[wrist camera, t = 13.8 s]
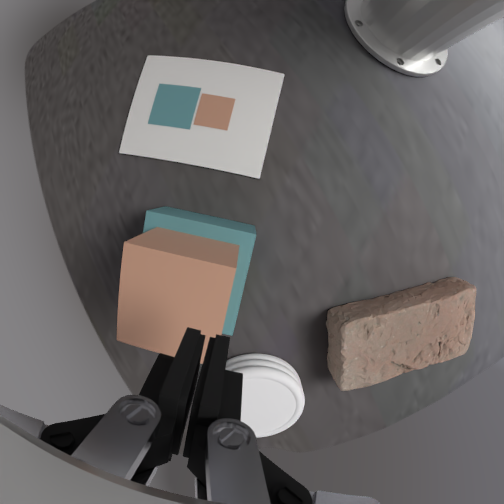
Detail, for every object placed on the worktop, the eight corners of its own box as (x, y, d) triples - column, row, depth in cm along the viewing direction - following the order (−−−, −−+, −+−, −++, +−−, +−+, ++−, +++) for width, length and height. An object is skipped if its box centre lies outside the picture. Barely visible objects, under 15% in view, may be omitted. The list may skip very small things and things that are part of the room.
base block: (165, 206, 24) (146, 210, 20) (254, 225, 25) (256, 234, 20) (152, 290, 26) (134, 311, 21) (235, 309, 27) (232, 335, 22)
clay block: (157, 226, 20) (124, 242, 14) (239, 245, 20) (236, 268, 14) (146, 303, 21) (116, 340, 15) (222, 321, 21) (214, 366, 16)
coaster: (306, 408, 30) (311, 428, 26) (224, 424, 30) (222, 445, 27) (291, 340, 28) (296, 359, 24) (195, 361, 28) (190, 380, 25)
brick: (327, 373, 29) (339, 399, 24) (323, 305, 27) (337, 326, 22) (449, 335, 29) (470, 352, 24) (455, 272, 27) (481, 284, 22)
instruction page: (148, 56, 21) (147, 55, 21) (284, 75, 22) (284, 73, 22) (119, 153, 23) (118, 152, 23) (259, 178, 24) (259, 178, 24)
